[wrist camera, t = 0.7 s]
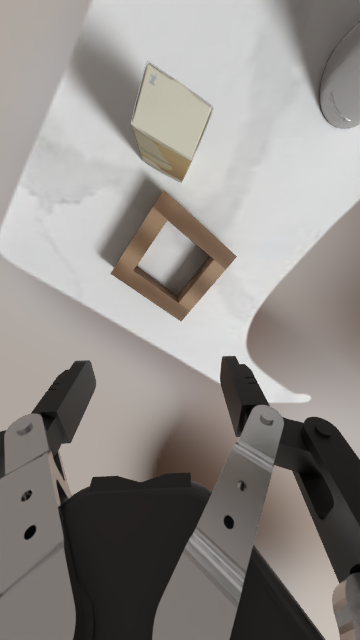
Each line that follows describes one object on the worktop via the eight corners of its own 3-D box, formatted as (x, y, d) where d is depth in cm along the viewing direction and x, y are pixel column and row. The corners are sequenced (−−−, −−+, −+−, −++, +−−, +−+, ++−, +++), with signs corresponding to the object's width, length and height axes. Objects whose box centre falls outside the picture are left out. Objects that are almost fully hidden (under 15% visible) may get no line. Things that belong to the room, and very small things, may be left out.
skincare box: (142, 161, 28) (125, 122, 17) (153, 124, 26) (142, 54, 15) (183, 185, 29) (192, 162, 18) (196, 151, 28) (215, 104, 17)
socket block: (163, 193, 30) (163, 190, 27) (230, 253, 34) (236, 256, 31) (115, 268, 34) (110, 273, 31) (180, 313, 38) (181, 321, 35)
